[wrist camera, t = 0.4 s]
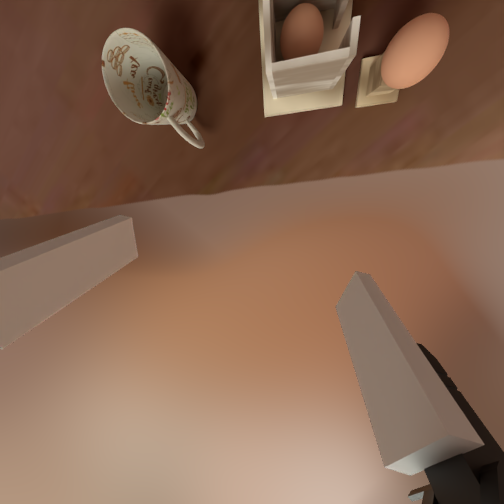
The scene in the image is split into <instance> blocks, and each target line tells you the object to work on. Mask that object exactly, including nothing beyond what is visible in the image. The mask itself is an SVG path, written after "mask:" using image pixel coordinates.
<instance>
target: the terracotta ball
mask: <svg viewBox="0 0 504 504" xmlns="http://www.w3.org/2000/svg"><path fill="white" fill-rule="evenodd" d="M448 40H449V25H448V23H447V21H446V19H445V18H444V17H443V16H442V15H439V14H436V13H427V14H423V15H420V16H418V17H416V18H414V19H412V20H411V21H409V22H408V23H407V24H405V25H404V26H403V27H402V28H401V29H400V30H399V31H398V32H397V33H396V34H395V36H394V37H393V38H392V40H391V41H390V43H389V45H388V46H387V48H386V50H385V53H384V55H383V58H382V63H381V76H382V79H383V81H384V82H385V84H386V85H387V86H389V87H391V88H394V89H403V88H407V87H410V86H412V85H414V84H416V83H418V82H419V81H421V80H422V79H424V78H425V77H426V76H427V75H428V74H429V73H430V72H431V71H432V70H433V69H434V68H435V67H436V65H437V64H438V63H439V61H440V59H441V58H442V56H443V54H444V52H445V50H446V47H447V44H448Z"/></svg>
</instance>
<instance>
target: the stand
mask: <svg viewBox="0 0 504 504" xmlns="http://www.w3.org/2000/svg"><path fill="white" fill-rule="evenodd" d="M384 53H385V52H384ZM384 53H383V54H382V55H378V56H373V57H368V58H363V59H362V60H361V67H360V75H359V82H358V90H357V98H356V105H355V108H358V107H365V106H371V105H378V104H385V103H392V102H396V101H397V98H398V93H399V89H394V88H391V87H389V86H387V85H386V84H385V82H384V81H383V79H382V76H381V63H382V58H383V55H384Z"/></svg>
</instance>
